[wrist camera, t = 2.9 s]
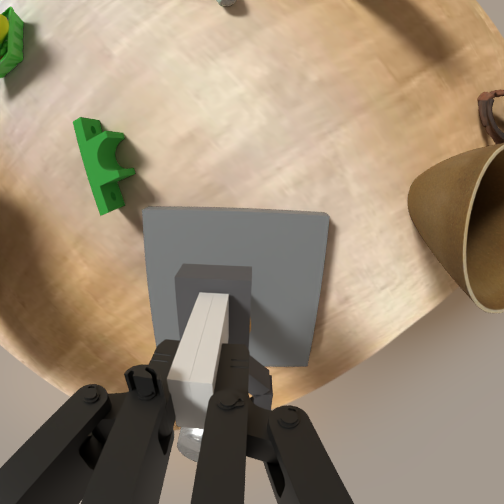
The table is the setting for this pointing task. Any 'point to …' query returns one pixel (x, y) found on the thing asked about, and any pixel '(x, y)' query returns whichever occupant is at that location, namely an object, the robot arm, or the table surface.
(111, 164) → the pipe clamp
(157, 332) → the pipe stand
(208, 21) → the table surface
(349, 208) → the table surface
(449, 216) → the plant pot
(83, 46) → the table surface
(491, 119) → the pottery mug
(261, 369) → the collar
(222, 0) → the flashlight
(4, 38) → the fruit basket
